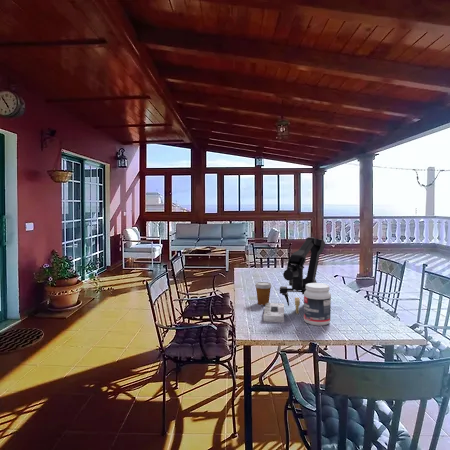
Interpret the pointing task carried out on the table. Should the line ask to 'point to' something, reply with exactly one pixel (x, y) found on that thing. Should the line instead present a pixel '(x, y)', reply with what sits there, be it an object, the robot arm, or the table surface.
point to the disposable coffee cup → (263, 292)
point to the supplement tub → (317, 304)
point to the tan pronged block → (297, 304)
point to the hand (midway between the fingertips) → (297, 306)
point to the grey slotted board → (274, 312)
